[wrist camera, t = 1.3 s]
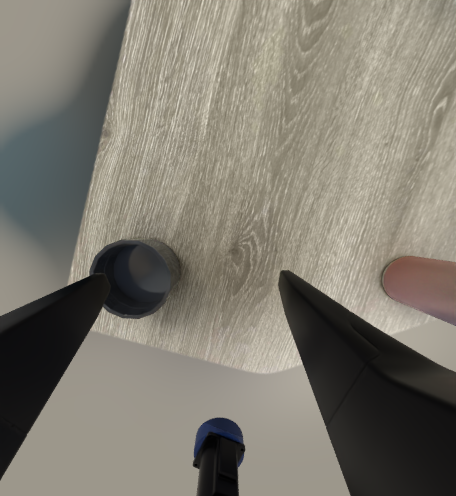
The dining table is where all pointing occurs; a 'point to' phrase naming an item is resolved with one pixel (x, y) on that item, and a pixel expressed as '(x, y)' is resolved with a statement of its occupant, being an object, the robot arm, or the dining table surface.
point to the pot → (137, 276)
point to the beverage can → (423, 285)
